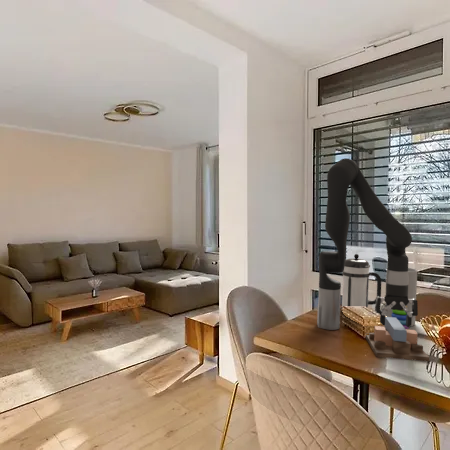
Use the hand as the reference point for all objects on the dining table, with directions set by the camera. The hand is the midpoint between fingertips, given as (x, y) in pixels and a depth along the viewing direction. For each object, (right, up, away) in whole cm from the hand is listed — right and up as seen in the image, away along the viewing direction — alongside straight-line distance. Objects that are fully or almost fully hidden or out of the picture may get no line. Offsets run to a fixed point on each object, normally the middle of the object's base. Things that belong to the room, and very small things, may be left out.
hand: (395, 325), depth 133 cm
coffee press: (+2, -7, +46) cm, 46 cm away
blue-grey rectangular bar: (0, -3, 0) cm, 3 cm away
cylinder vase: (+17, -8, +32) cm, 37 cm away
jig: (0, -9, 0) cm, 9 cm away
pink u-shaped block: (0, -7, 0) cm, 7 cm away
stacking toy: (+11, -8, +19) cm, 23 cm away
